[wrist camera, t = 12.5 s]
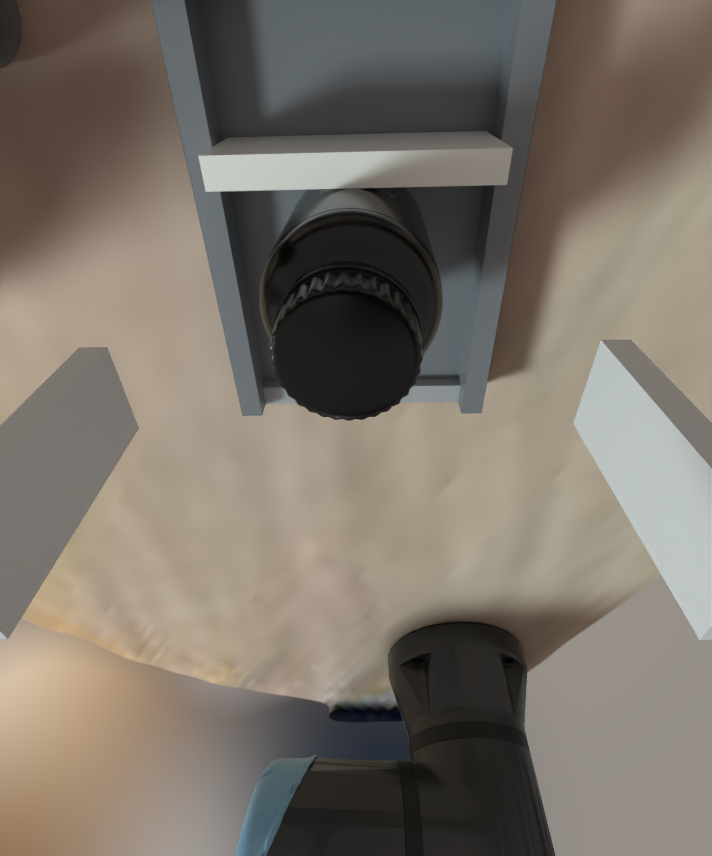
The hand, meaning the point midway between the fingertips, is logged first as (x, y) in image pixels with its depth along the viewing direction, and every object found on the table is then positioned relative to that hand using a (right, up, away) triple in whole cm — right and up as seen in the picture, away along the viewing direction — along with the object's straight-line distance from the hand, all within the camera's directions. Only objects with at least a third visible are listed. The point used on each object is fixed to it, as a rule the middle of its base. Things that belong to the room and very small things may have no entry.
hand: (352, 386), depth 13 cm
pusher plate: (0, +11, +8) cm, 14 cm away
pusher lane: (0, +9, +11) cm, 15 cm away
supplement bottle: (0, +8, +11) cm, 14 cm away
